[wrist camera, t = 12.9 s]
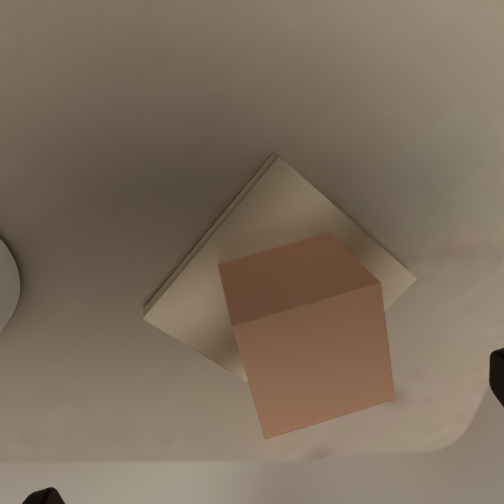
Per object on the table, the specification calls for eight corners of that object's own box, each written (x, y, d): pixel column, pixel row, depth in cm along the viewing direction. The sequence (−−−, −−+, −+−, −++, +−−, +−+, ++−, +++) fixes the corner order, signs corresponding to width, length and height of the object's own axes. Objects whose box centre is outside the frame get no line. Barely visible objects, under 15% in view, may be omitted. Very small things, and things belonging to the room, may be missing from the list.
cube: (244, 357, 20) (265, 439, 15) (217, 264, 18) (231, 326, 13) (345, 327, 20) (394, 398, 16) (329, 232, 18) (381, 282, 14)
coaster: (144, 307, 19) (142, 319, 18) (273, 152, 18) (279, 155, 17) (286, 394, 22) (290, 408, 21) (406, 270, 21) (417, 278, 20)
